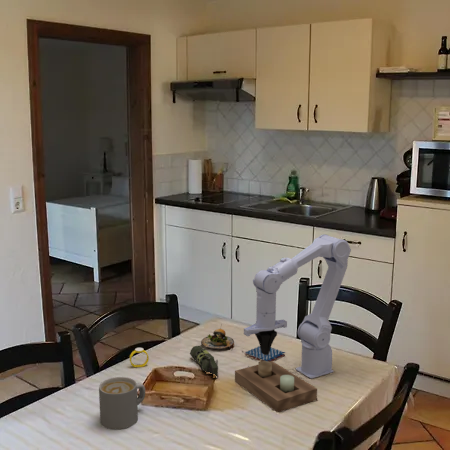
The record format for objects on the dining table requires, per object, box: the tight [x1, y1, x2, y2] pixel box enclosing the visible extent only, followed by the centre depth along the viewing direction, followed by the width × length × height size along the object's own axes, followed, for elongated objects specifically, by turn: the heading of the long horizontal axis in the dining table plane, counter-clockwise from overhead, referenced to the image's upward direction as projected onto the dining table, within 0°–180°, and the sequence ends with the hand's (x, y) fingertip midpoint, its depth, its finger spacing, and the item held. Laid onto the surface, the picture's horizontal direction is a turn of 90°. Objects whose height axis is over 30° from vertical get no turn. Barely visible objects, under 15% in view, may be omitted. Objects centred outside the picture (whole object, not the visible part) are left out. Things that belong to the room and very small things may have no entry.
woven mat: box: [244, 345, 286, 363], centre depth 195 cm, size 10×11×2 cm
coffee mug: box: [98, 376, 146, 431], centre depth 154 cm, size 13×10×10 cm
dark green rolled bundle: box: [189, 345, 219, 378], centre depth 185 cm, size 6×5×18 cm
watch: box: [129, 347, 150, 368], centre depth 186 cm, size 6×3×6 cm, turn 107°
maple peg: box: [257, 361, 272, 378], centre depth 174 cm, size 4×4×4 cm
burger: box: [200, 323, 235, 350], centre depth 203 cm, size 12×12×8 cm
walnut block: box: [234, 361, 318, 413], centre depth 170 cm, size 14×22×4 cm, turn 31°
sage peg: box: [280, 375, 294, 392], centre depth 164 cm, size 4×4×4 cm
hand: (265, 353), depth 173 cm, fingers closed
